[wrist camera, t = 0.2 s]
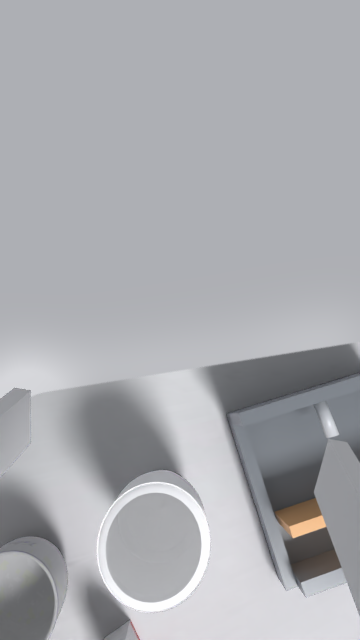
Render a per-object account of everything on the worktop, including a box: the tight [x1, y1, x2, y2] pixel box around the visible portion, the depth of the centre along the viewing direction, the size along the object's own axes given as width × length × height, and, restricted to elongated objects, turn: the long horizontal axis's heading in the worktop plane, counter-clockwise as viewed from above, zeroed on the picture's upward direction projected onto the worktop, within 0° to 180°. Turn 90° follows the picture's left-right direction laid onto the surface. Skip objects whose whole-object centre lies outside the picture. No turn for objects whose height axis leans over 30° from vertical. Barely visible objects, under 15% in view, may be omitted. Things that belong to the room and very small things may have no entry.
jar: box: [97, 470, 211, 613], centre depth 37 cm, size 11×10×15 cm
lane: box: [226, 373, 360, 598], centre depth 41 cm, size 21×22×10 cm
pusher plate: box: [274, 498, 326, 538], centre depth 41 cm, size 1×18×6 cm, turn 107°
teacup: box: [0, 536, 68, 640], centre depth 38 cm, size 14×11×8 cm
